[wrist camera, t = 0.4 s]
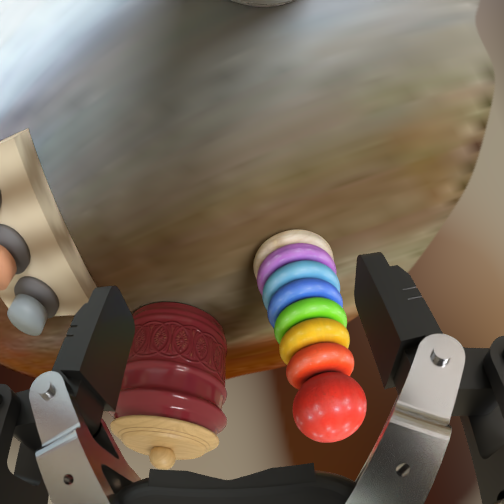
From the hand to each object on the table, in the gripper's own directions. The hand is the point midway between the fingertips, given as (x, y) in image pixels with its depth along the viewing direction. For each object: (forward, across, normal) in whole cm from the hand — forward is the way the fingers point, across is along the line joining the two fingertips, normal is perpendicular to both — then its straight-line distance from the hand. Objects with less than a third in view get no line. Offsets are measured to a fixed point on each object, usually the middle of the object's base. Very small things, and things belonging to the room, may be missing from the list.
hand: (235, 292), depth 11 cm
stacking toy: (+19, -4, +13) cm, 23 cm away
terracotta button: (+13, +25, +5) cm, 29 cm away
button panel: (+18, +25, +4) cm, 31 cm away
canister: (+19, +12, +23) cm, 32 cm away
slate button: (+14, +25, +12) cm, 31 cm away
